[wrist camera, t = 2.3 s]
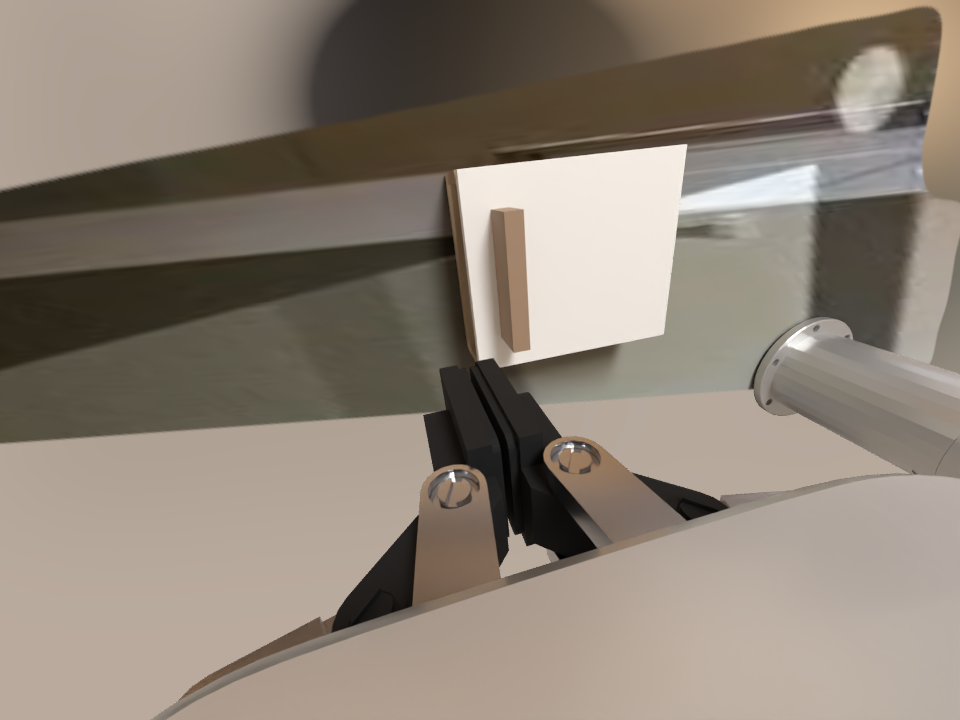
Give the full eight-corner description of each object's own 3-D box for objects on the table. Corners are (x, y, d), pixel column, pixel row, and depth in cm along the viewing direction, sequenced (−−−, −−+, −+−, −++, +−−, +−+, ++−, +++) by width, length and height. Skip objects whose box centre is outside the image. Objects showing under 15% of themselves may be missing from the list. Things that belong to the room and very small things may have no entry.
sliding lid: (678, 145, 26) (723, 138, 22) (657, 331, 32) (689, 347, 28) (454, 170, 23) (466, 166, 20) (478, 367, 29) (490, 390, 26)
